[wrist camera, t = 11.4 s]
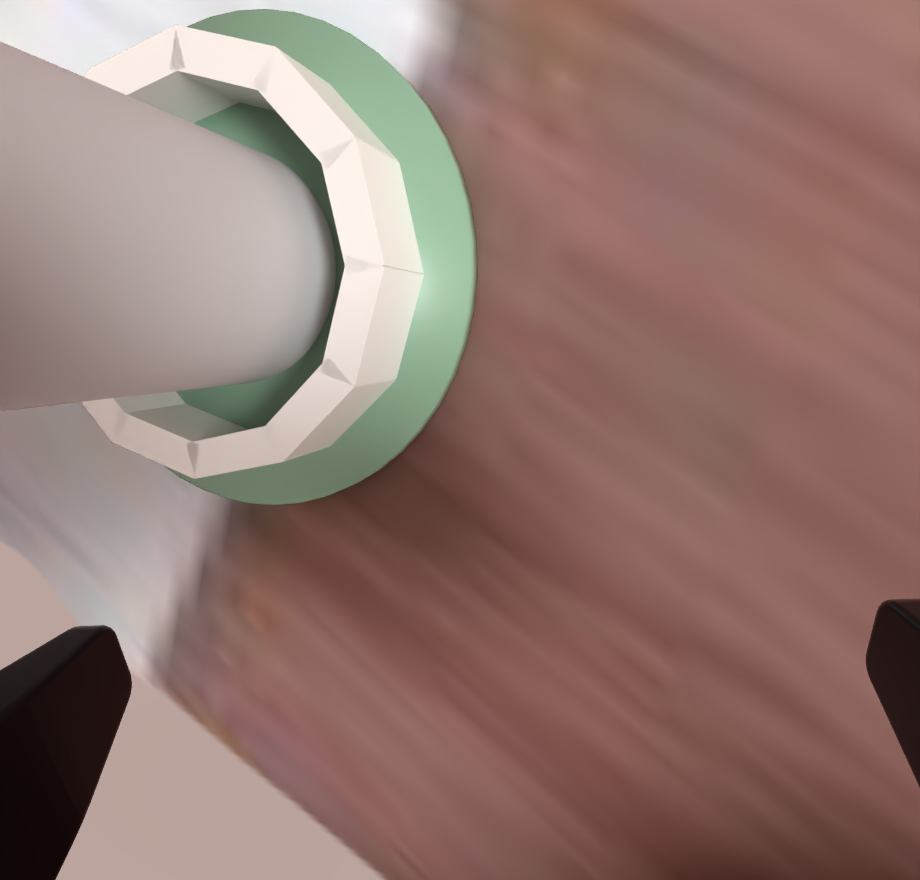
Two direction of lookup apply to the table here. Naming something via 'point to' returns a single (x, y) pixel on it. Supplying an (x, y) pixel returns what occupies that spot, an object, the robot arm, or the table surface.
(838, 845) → the table surface
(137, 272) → the beverage can
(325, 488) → the cup
